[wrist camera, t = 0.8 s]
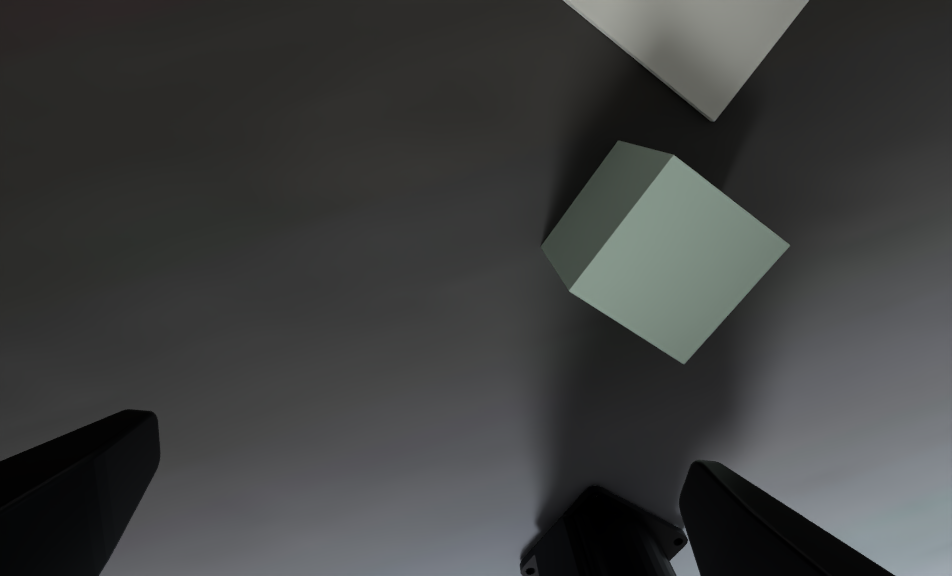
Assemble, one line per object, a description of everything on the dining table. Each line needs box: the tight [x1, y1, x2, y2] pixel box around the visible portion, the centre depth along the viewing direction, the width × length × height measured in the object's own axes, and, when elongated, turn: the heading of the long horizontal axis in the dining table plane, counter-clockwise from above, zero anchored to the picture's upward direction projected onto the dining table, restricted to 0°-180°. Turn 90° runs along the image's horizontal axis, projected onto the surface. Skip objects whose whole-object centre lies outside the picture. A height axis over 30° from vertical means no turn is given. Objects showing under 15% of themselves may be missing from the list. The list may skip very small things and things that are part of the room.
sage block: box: [541, 140, 790, 364], centre depth 18 cm, size 5×5×5 cm
